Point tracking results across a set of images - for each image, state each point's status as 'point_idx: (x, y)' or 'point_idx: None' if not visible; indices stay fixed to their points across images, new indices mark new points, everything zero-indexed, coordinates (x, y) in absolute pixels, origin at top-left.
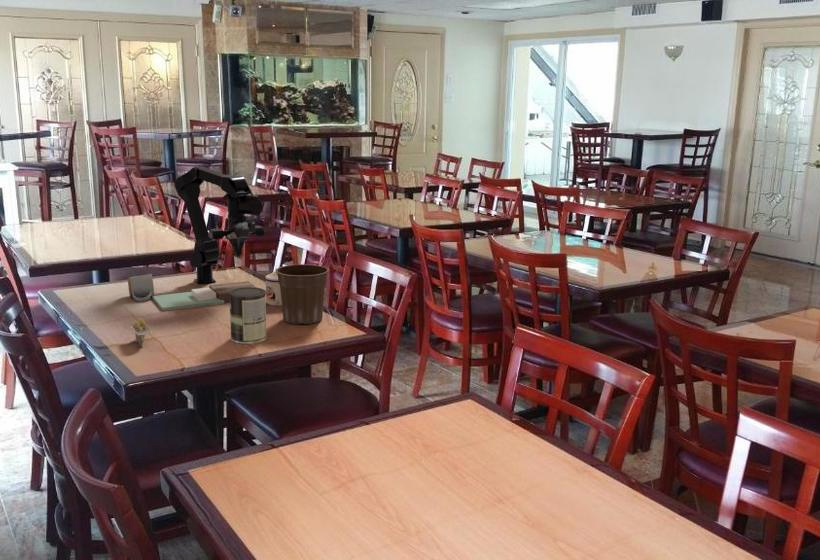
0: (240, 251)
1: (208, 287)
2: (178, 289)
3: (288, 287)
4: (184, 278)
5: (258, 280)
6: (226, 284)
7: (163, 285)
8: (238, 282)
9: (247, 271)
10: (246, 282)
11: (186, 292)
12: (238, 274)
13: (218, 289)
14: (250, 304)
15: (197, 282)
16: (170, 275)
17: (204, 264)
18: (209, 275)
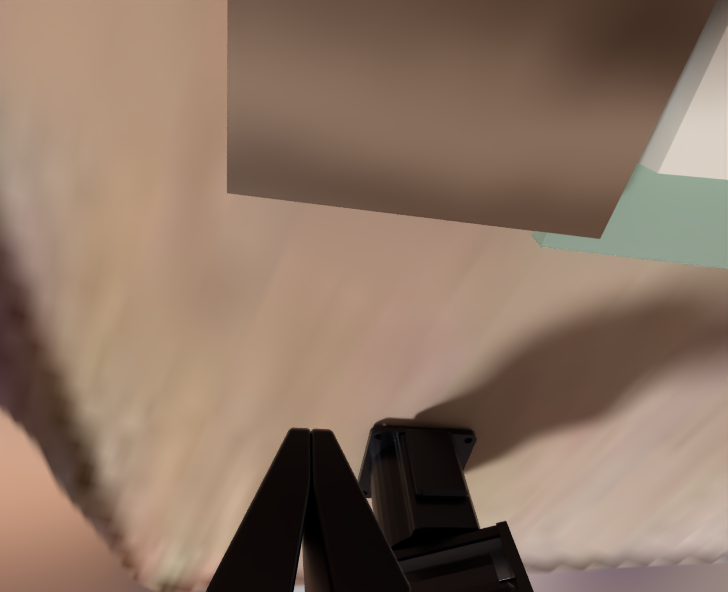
0: (263, 502)
1: (659, 172)
2: (622, 388)
3: None
4: None
5: (85, 363)
6: (470, 186)
7: (615, 473)
8: (337, 196)
9: (111, 535)
10: (263, 154)
11: (714, 261)
12: (180, 507)
13: (659, 31)
14: None
15: (472, 446)
16: None
17: (452, 554)
18: (422, 463)
